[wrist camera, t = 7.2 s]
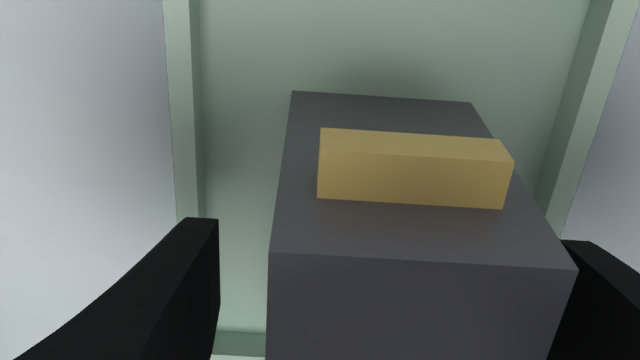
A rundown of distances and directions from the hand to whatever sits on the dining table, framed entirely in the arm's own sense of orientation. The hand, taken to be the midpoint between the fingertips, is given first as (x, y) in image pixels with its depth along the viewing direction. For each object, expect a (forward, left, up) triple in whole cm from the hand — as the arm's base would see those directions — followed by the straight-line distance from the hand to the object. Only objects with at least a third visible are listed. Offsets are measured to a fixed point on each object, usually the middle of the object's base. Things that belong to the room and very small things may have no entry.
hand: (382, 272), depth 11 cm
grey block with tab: (0, +1, -3) cm, 4 cm away
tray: (0, 0, -4) cm, 4 cm away
